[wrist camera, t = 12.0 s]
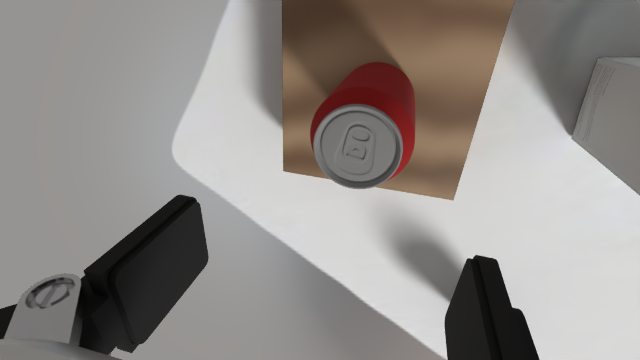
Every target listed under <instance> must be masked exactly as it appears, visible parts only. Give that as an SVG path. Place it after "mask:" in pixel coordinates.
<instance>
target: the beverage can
mask: <svg viewBox="0 0 640 360" xmlns="http://www.w3.org/2000/svg"><path fill="white" fill-rule="evenodd" d="M310 141H311V146H312V150H313V153H314V155H315V158H316V161H317V163H318V165H319V167H320V168H321V170H322V171H323V172H324V173H325V174H326V175H327V176H328V177H329V178H330V179H331V180H333V181H334V182H336V183H338V184H340V185H342V186H345V187H348V188H353V189H367V188H372V187H375V186H378V185H380V184H382V183H384V182H386V181H388V180H390V179H392V178H393V177H395V176H396V175H397V174H399V173H400V172H401V171H402V170H403V169H404V167H405V166H406V165H407V163H408V162H409V160H410V158H411V156H412V153H413V150H414V145H415V94H414V89H413V86H412V84H411V82H410V80H409V78H408V77H407V76H406V75H405V73H404V72H402V71H401V70H400V69H399V68H397V67H395V66H393V65H391V64H388V63H383V62H372V63H367V64H364V65H362V66H360V67H358V68H356V69H355V70H353V71H352V72H351V73H350V74H349V75H348V76H347V77H346V78H345V79H344V80H343V81H342V82H341V83H340V84H339V85H338V86H337V87H336V88H335V89H334V90H333V92H332V93H331V94H330V95H329V96H328V97H327V98H326V99H325V101H324V102H323V103H322V104H321V105H320V106H319V108H318V109H317V111H316V113H315V115H314V117H313V120H312V123H311V128H310Z"/></svg>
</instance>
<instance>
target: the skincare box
mask: <svg viewBox="0 0 640 360" xmlns="http://www.w3.org/2000/svg"><path fill="white" fill-rule="evenodd" d="M571 139H572V140H574V141H575V142H576V143H577V144H579V145H580V146H581V147H582V148H583V149H585V150H586V151H587V152H588V153H589V154H591V155H592V156H593V157H594V158H596V159H597V160H598V161H599V162H600V163H601V164H603V165H604V166H605V167H606V168H607V169H609V170H610V171H611V172H612V173H613V174H615V175H616V176H617V177H618V178H619V179H621V180H622V181H623V182H624V183H625V184H627V185H628V186H629V187H630V188H631V189H633V190H634V191H635V192H636V193H637V194H639V195H640V57H615V58H598V59H597V62H596V65H595V68H594V71H593V74H592V77H591V80H590V83H589V86H588V89H587V92H586V95H585V98H584V101H583V104H582V107H581V110H580V113H579V116H578V119H577V123H576V127H575V129H574V132H573V135H572V137H571Z"/></svg>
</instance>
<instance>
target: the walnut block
mask: <svg viewBox="0 0 640 360" xmlns="http://www.w3.org/2000/svg"><path fill="white" fill-rule="evenodd" d="M514 1H515V0H282V58H283V171H285V172H291V173H297V174H303V175H308V176H314V177H320V178H326V179H330V178H329V177H328V176H327V175H326V174H325V173H324V172H323V171H322V170H321V168H320V167H319V165H318V163H317V161H316V158H315V155H314V153H313V150H312V146H311V141H310V128H311V123H312V120H313V117H314V115H315V113H316V111H317V109H318V108H319V106H320V105H321V104H322V103H323V102H324V101H325V99H326V98H327V97H328V96H329V95H330V94H331V93H332V92H333V90H334V89H335V88H336V87H337V86H338V85H339V84H340V83H341V82H342V81H343V80H344V79H345V78H346V77H347V76H348V75H349V74H350V73H351V72H352V71H353V70H355V69H356V68H358V67H360V66H362V65H364V64H367V63H372V62H383V63H388V64H391V65H393V66H395V67H397V68H399V69H400V70H401V71H402V72H404V73H405V75H406V76H407V77H408V78H409V80H410V82H411V84H412V86H413V89H414V94H415V145H414V150H413V153H412V156H411V158H410V160H409V162H408V163H407V165H406V166H405V167H404V169H403V170H402V171H401V172H400V173H399V174H397V175H396V176H395V177H393V178H392V179H390V180H388V181H386V182H384V183H382V184H380V185H378V186H375V187H379V188H384V189H390V190H396V191H402V192H408V193H414V194H419V195H425V196H431V197H437V198H443V199H449V200H454V196H455V193H456V190H457V187H458V183H459V180H460V177H461V174H462V170H463V167H464V164H465V161H466V157H467V154H468V151H469V148H470V144H471V141H472V138H473V135H474V131H475V128H476V125H477V121H478V118H479V115H480V112H481V108H482V105H483V102H484V99H485V95H486V92H487V89H488V86H489V82H490V79H491V76H492V73H493V69H494V66H495V63H496V60H497V56H498V53H499V50H500V47H501V43H502V40H503V37H504V34H505V30H506V27H507V24H508V21H509V17H510V14H511V11H512V8H513V4H514Z"/></svg>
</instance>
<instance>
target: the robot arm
mask: <svg viewBox="0 0 640 360" xmlns="http://www.w3.org/2000/svg"><path fill="white" fill-rule="evenodd" d="M207 262H208V250H207V245H206V238H205V232H204V226H203V220H202V214H201V207H200V204H199V203H198V202H197V200H196V199H195V198H194V197H189V196H184V195H177V196H176V197H174V198H173V199H172V200H171V201H169V202H168V203H167V204H166V205H164V206H163V207H162V208H161V209H159V210H158V211H157V212H156V213H155V214H153V215H152V216H151V217H150V218H148V219H147V220H146V221H145V222H143V223H142V224H141V225H140V226H138V227H137V228H136V229H135V230H134V231H132V232H131V233H130V234H128V235H127V236H126V237H125V238H124V239H122V240H121V241H120V242H119V243H117V244H116V245H115V246H114V247H112V248H111V249H110V250H109V251H107V252H106V253H105V254H104V255H103V256H101V257H100V258H99V259H98V260H96V261H95V262H94V263H93V264H91V265H90V266H89V267H88V268H86V269H85V270H84V273H85V276H84V277H83V278H81V279H80V278H79V277H78V276H76V275H73V274H59V275H54V276H51V277H48V278H45V279H43V280H41V281H39V282H37V283H36V284H34V285H33V286H31V287H30V288H29V289H28V290H27V291H25V293H23V295H22V296H21V298H20V299H19V301H18V304H16V305H12V306H8V307H5V308H2V309H0V360H121V359H118V358H115V357H112V356H111V352H112V351H113V349H114V348H115V347H116V346H117V348H118V349H120V350H123V351H127V352H130V353H132V352H133V351H134V350H135V349H136V347H137V346H138V345H139V344H142V343H144V342H145V341H146V340H147V339H148V337H149V336H150V335H151V334H152V333H153V331H154V330H155V329H156V328H157V326H158V325H159V324H160V322H161V321H162V320H163V319H164V318H165V316H166V315H167V314H168V313H169V311H170V310H171V308H172V307H173V306H174V305H175V304H176V302H177V301H178V300H179V299H180V297H181V296H182V295H183V294H184V292H185V291H186V290H187V289H188V287H189V286H190V285H191V284H192V282H193V281H194V280H195V279H196V277H197V276H198V275H199V274H200V272H201V271H202V270H203V269H204V267H205V266H206V264H207ZM445 335H446V346H447V357H448V360H539V357H538V354H537V351H536V348H535V345H534V343H533V340H532V337H531V334H530V331H529V328H528V325H527V322H526V319H525V317H524V315H523V313H522V311H521V310H520V309H516V308H512V306H511V303H510V300H509V296H508V293H507V290H506V287H505V284H504V281H503V277H502V274H501V271H500V268H499V265H498V262H497V260H496V259H493V258H488V257H483V256H478V255H475V256H474V258H473V259H470V258H468V259H467V260H466V263H465V265H464V268H463V271H462V273H461V276H460V279H459V281H458V284H457V286H456V289H455V292H454V294H453V297H452V300H451V302H450V305H449V308H448V310H447V313H446V316H445Z"/></svg>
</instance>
